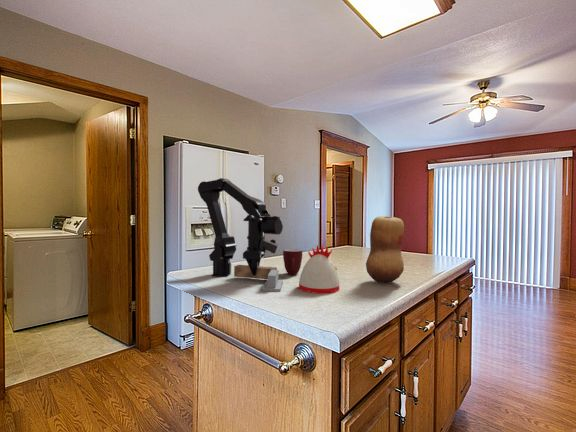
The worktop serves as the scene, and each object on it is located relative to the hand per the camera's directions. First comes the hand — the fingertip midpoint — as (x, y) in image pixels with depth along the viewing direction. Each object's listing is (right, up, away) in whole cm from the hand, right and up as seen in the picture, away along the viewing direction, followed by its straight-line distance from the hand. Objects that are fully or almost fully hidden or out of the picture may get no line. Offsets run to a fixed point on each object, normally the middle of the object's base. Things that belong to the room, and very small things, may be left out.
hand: (255, 274), depth 118 cm
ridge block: (+7, -3, -10) cm, 13 cm away
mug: (+15, -2, +10) cm, 18 cm away
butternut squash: (+49, -3, -2) cm, 49 cm away
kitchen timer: (+23, -3, -11) cm, 26 cm away
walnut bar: (0, -1, 0) cm, 1 cm away
